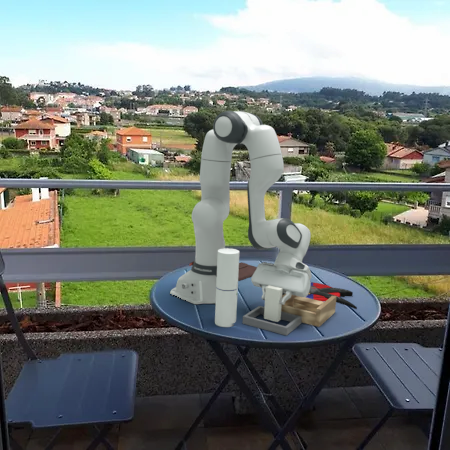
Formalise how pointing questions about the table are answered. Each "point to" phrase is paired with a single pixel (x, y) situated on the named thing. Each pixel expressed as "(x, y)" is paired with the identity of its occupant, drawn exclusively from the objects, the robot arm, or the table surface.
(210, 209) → the robot arm
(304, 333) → the table surface
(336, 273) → the table surface
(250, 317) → the charcoal tray
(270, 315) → the white upright pillar
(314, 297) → the black red irregular piece
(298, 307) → the offcut middle
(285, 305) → the tray
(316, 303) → the offcut top
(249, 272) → the notebook
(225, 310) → the cylindrical container
